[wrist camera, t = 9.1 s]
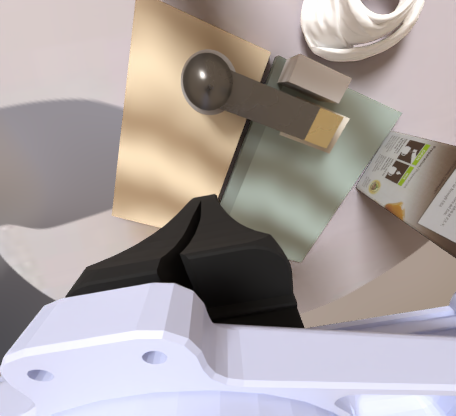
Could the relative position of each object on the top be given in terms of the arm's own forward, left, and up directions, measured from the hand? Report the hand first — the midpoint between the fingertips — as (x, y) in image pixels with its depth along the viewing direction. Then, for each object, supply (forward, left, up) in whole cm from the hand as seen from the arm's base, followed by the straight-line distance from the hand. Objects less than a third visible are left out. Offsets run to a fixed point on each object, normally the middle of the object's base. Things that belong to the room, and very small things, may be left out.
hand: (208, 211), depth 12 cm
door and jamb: (0, -3, -10) cm, 10 cm away
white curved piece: (+14, -6, -10) cm, 19 cm away
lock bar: (+6, -2, -8) cm, 11 cm away
